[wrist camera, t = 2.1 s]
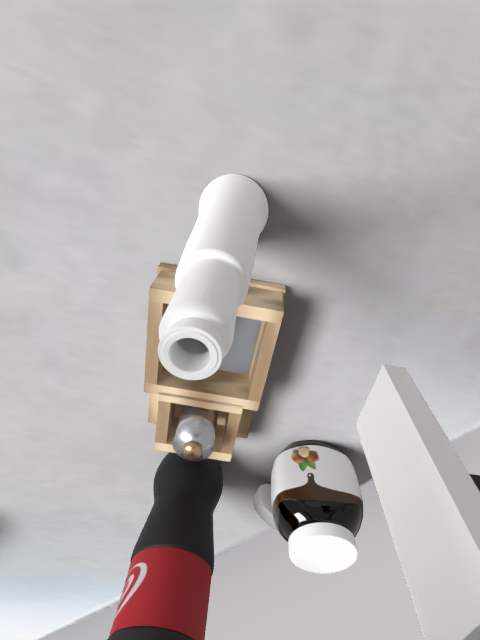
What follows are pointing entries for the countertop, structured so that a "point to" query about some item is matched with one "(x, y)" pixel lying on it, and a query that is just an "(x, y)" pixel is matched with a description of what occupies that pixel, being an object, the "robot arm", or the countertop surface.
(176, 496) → the cola bottle
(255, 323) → the wooden frame
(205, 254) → the cosmetic bottle
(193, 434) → the grey cell
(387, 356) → the countertop surface
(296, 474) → the spread jar
